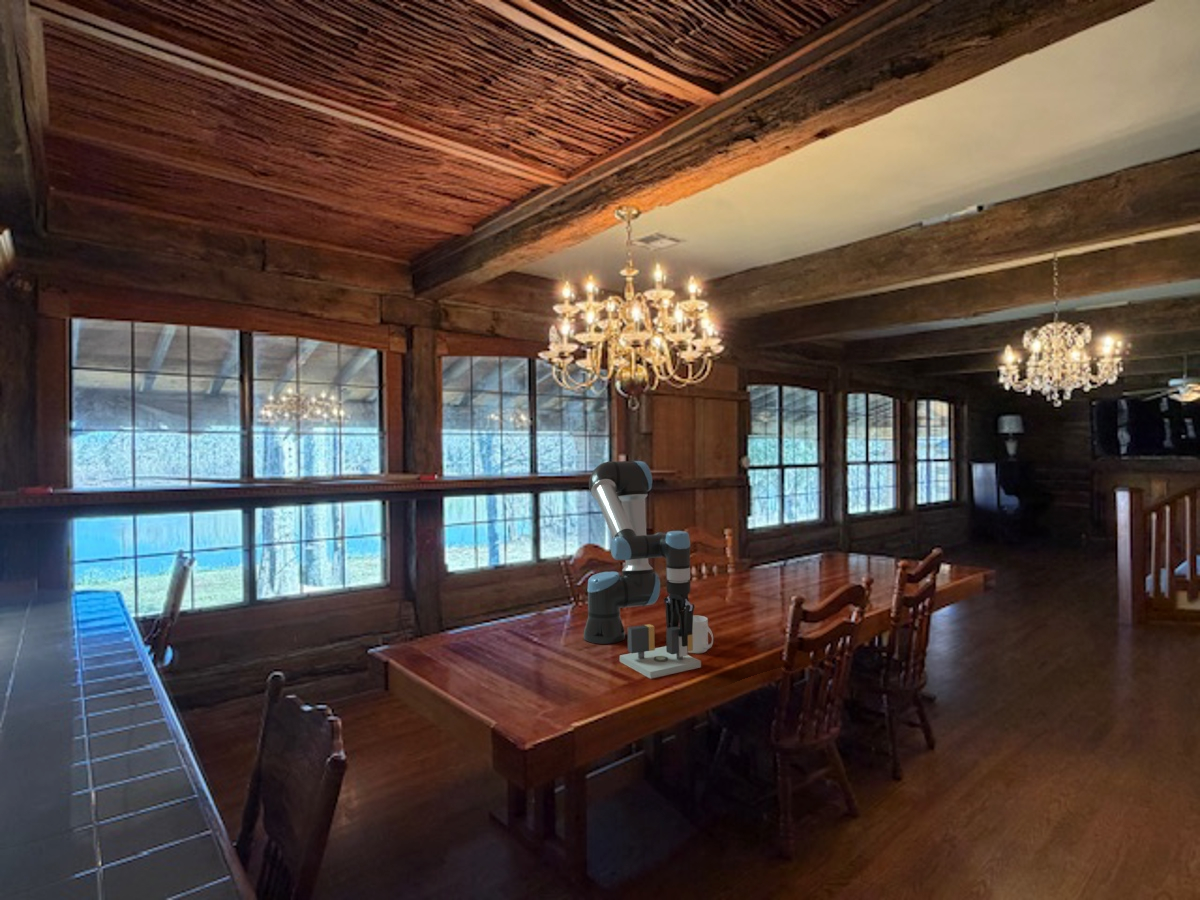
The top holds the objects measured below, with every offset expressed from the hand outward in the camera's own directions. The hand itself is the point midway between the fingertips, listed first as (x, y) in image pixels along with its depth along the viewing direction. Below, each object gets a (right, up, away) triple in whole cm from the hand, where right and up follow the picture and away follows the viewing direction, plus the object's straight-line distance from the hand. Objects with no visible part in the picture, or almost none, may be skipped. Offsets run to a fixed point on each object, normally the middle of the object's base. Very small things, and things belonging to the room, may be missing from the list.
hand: (679, 654), depth 202 cm
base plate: (-6, -4, +1) cm, 7 cm away
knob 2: (0, -2, 0) cm, 2 cm away
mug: (+8, -4, +14) cm, 17 cm away
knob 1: (-12, -2, +1) cm, 12 cm away
